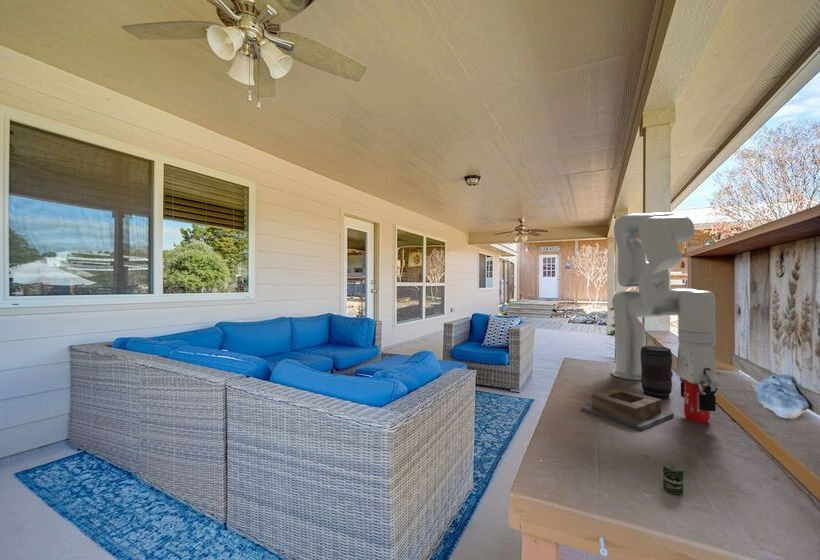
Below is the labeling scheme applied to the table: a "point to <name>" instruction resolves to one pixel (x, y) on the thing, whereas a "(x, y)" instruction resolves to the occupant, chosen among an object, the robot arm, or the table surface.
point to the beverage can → (694, 403)
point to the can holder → (627, 408)
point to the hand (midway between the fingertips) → (697, 403)
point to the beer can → (673, 479)
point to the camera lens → (656, 371)
